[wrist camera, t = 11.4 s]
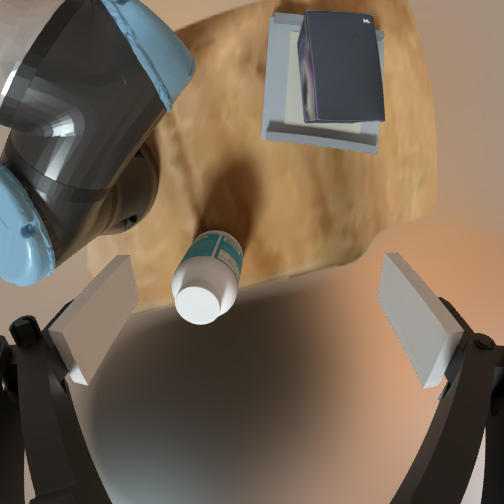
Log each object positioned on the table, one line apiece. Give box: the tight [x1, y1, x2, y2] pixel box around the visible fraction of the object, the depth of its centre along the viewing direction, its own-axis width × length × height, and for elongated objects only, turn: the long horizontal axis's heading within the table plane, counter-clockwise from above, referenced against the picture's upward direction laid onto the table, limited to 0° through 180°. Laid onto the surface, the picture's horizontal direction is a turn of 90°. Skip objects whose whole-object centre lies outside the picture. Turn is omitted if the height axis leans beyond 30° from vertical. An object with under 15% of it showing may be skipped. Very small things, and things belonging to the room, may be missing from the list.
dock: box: [261, 12, 384, 155], centre depth 30 cm, size 14×16×4 cm
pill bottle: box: [172, 230, 243, 324], centre depth 35 cm, size 8×7×14 cm
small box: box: [297, 10, 385, 124], centre depth 24 cm, size 11×6×10 cm, turn 5°
